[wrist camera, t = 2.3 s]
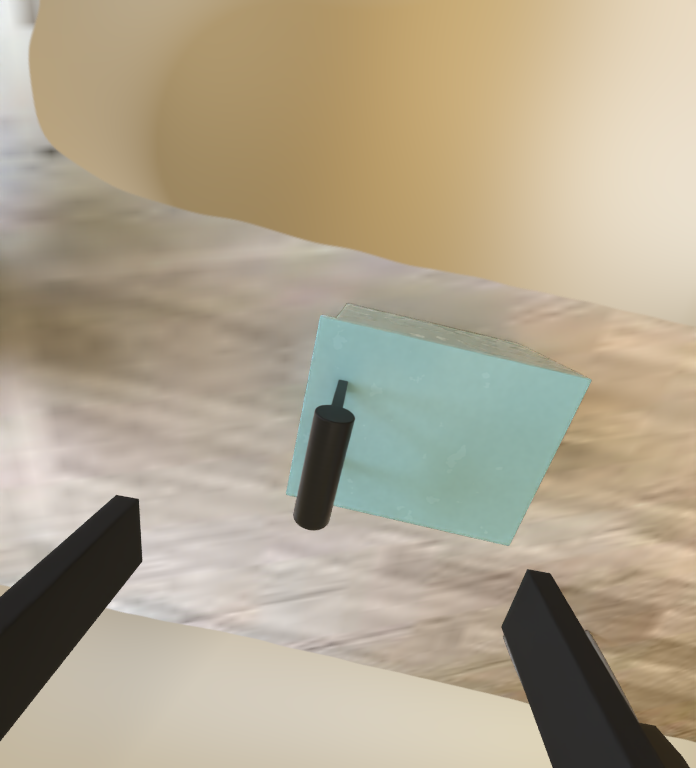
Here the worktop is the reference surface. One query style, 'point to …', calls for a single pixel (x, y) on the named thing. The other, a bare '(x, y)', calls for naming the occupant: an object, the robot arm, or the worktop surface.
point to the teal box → (447, 335)
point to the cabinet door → (425, 432)
